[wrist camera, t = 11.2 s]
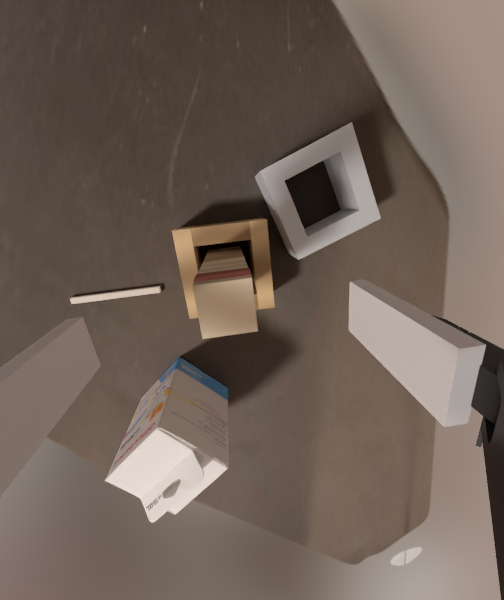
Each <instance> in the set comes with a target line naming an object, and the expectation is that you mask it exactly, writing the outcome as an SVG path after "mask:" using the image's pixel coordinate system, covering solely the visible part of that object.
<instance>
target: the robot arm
mask: <svg viewBox="0 0 504 600" xmlns="http://www.w3.org/2000/svg"><path fill="white" fill-rule="evenodd" d="M349 331H350V332H351V333H352V334H353V335H354V336H355V337H356V338H357V339H358V340H359V341H360V342H361V343H362V344H363V345H364V346H365V347H366V348H367V349H368V350H369V351H370V352H371V353H372V354H373V355H374V356H375V357H376V358H377V359H378V360H379V361H380V362H381V364H382V365H383V366H384V367H385V368H386V369H387V370H388V371H389V372H390V373H391V374H392V375H393V376H394V377H395V378H396V379H397V380H398V381H399V382H400V383H401V384H402V385H403V386H404V387H405V388H406V389H407V390H408V391H409V392H410V393H411V394H412V395H413V396H414V397H415V398H416V399H417V400H418V401H419V402H420V403H421V404H422V405H423V406H424V407H425V408H426V409H427V410H428V411H429V412H430V413H431V414H432V415H433V416H434V417H435V418H436V419H437V420H438V421H439V422H440V423H441V424H442V425H443V426H444V427H448V426H454V425H460V424H466V423H468V421H469V417H470V412H471V408H472V407H473V408H474V409H475V410H477V411H478V412H479V413H480V414H481V415H483V420H482V423H481V428H480V431H479V435H478V439H477V444H476V446H479V447H481V445H482V442H483V449H484V457H485V466H486V474H487V483H488V490H489V499H490V508H491V515H492V524H493V533H494V541H495V550H496V558H497V567H498V575H499V583H500V592H501V600H504V349H502V348H500V347H497V346H495V345H494V344H492V343H490V342H488V341H486V340H484V339H482V338H480V337H479V336H477V335H475V334H473V333H469V332H468V331H467V330H465V329H463V328H461V327H458V326H457V325H455V324H453V323H452V322H450V321H448V320H446V319H442V318H439V317H436V316H432V315H430V314H428V313H426V312H424V311H422V310H421V309H419V308H417V307H415V306H413V305H411V304H409V303H407V302H406V301H404V300H402V299H400V298H398V297H396V296H394V295H393V294H391V293H389V292H387V291H385V290H383V289H381V288H380V287H378V286H376V285H374V284H372V283H370V282H368V281H367V280H365V279H363V280H356V281H350V290H349ZM99 368H100V363H99V360H98V357H97V355H96V352H95V349H94V346H93V344H92V341H91V338H90V335H89V333H88V330H87V327H86V324H85V322H84V319H83V317H81V318H73V319H66V320H65V321H64V322H62V323H61V324H59V325H58V326H57V327H55V328H54V329H53V330H51V331H50V332H48V333H47V334H46V335H44V336H43V337H42V338H40V339H39V340H37V341H36V342H35V343H33V344H32V345H31V346H29V347H28V348H26V349H25V350H24V351H22V352H21V353H20V354H18V355H17V356H15V357H14V358H13V359H11V360H10V361H9V362H7V363H6V364H4V365H3V366H2V367H0V497H1V495H2V494H3V493H4V491H5V490H6V489H7V487H8V486H9V485H10V483H11V482H12V481H13V480H14V478H15V477H16V476H17V474H18V473H19V472H20V470H21V469H22V468H23V467H24V465H25V464H26V462H27V461H28V460H29V459H30V457H31V456H32V455H33V454H34V452H35V451H36V450H37V448H38V447H39V446H40V444H41V443H42V441H44V439H45V438H46V437H47V435H48V434H49V433H50V431H51V430H52V429H53V428H54V426H55V425H56V424H57V422H58V421H59V420H60V418H61V417H62V416H63V414H64V413H65V412H66V411H67V409H68V408H69V407H70V405H71V404H72V403H73V401H74V400H75V399H76V398H77V396H78V395H79V394H80V392H81V391H82V390H83V388H84V387H85V386H86V384H87V383H88V382H89V381H90V379H91V378H92V377H93V375H94V374H95V373H96V371H97V370H98V369H99Z"/></svg>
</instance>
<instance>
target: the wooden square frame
mask: <svg viewBox="0 0 504 600" xmlns="http://www.w3.org/2000/svg"><path fill="white" fill-rule="evenodd" d="M172 234H173V239H174V244H175V249H176V254H177V259H178V263H179V268H180V273H181V278H182V283H183V288H184V293H185V298H186V303H187V307H188V312H189V317H190V319H192V318H198V312H197V307H196V302H195V297H194V292H193V286H192V285H193V280H194V278H195V276H196V274H198V272H199V270H200V268H201V265H202V261H201V255H200V249H199V246H203V245H211V244H219V243H227V242H236V241H244V240H248V242H249V251H250V260H251V269H252V278H253V291H254V300H255V309H256V310H258V309H265V308H273V307H275V305H274V294H273V282H272V271H271V259H270V248H269V236H268V225H267V219H264V218H257V219H248V220H240V221H231V222H223V223H215V224H206V225H198V226H189V227H181V228H177V229H175V230H172Z"/></svg>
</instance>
